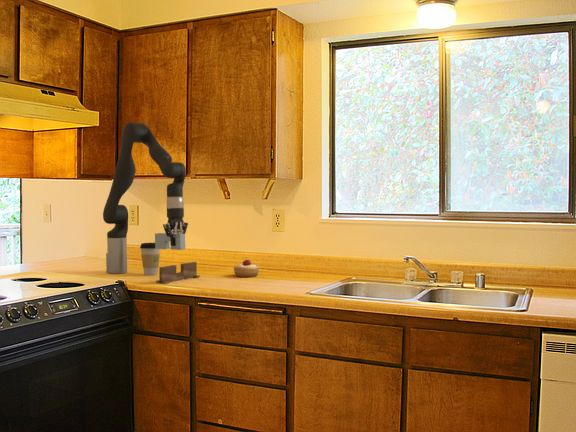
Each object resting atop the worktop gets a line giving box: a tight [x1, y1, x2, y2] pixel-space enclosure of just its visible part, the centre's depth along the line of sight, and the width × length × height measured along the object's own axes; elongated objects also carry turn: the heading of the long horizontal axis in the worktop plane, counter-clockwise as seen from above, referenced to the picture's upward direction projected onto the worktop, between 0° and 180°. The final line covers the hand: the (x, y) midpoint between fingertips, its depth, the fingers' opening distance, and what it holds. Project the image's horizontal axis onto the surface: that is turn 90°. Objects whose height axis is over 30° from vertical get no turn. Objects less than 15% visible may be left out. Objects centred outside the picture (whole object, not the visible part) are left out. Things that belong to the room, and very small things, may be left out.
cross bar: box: [154, 232, 186, 251], centre depth 280 cm, size 16×3×7 cm, turn 55°
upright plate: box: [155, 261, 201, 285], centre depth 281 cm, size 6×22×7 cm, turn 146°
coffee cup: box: [139, 242, 161, 277], centre depth 298 cm, size 10×10×15 cm
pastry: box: [233, 257, 260, 278], centre depth 293 cm, size 12×12×9 cm
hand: (176, 245), depth 278 cm, fingers closed on cross bar, 3 cm apart
